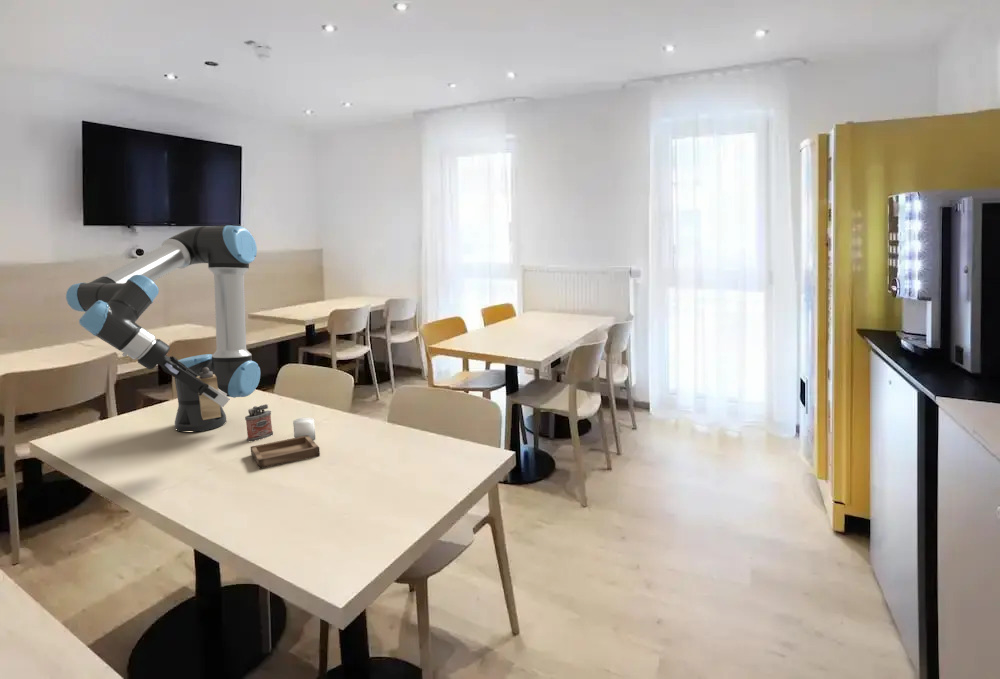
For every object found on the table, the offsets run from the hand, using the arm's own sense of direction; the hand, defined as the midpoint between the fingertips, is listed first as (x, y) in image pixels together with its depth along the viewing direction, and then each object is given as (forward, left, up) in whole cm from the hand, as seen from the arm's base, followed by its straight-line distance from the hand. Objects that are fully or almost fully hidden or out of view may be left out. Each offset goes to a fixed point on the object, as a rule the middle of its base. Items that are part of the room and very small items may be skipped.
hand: (224, 400), depth 157 cm
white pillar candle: (-4, +21, -17) cm, 28 cm away
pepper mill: (0, -4, -4) cm, 5 cm away
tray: (+6, +13, -17) cm, 22 cm away
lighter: (-14, +10, -17) cm, 24 cm away
